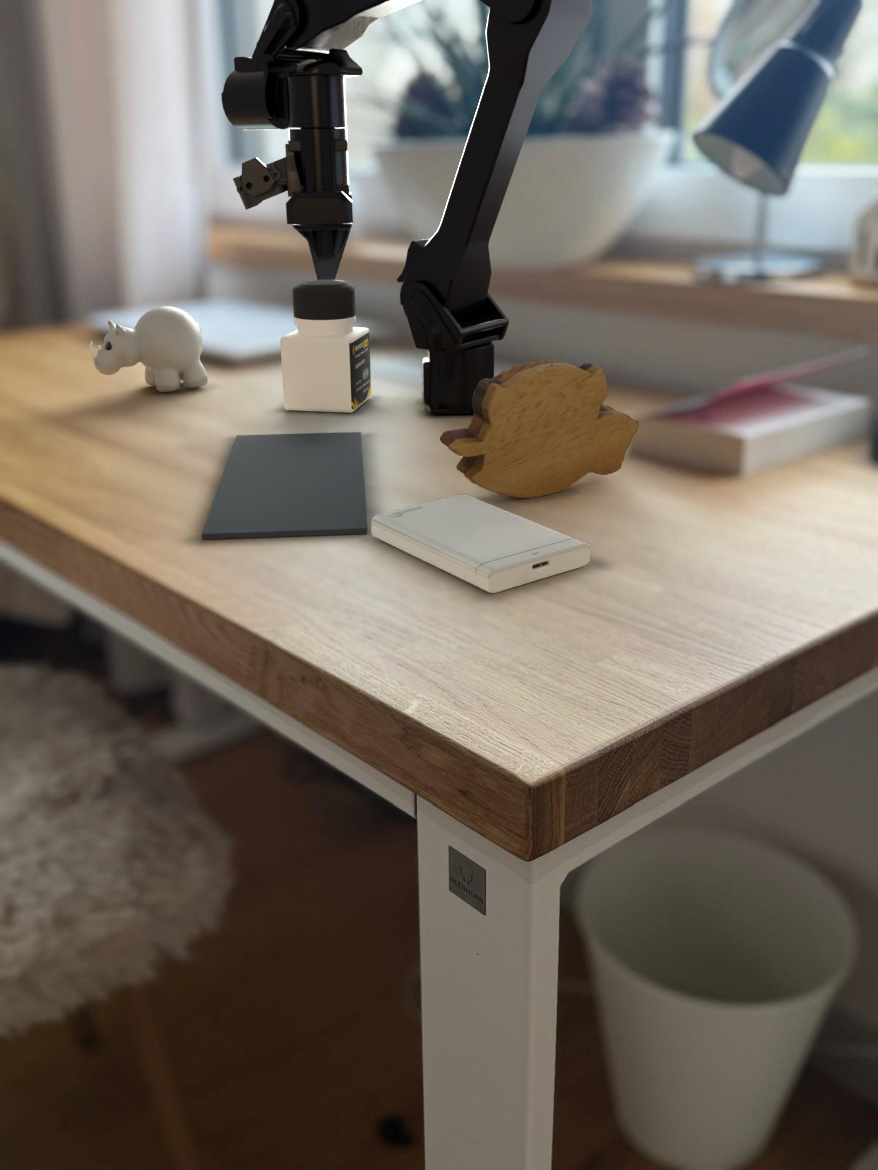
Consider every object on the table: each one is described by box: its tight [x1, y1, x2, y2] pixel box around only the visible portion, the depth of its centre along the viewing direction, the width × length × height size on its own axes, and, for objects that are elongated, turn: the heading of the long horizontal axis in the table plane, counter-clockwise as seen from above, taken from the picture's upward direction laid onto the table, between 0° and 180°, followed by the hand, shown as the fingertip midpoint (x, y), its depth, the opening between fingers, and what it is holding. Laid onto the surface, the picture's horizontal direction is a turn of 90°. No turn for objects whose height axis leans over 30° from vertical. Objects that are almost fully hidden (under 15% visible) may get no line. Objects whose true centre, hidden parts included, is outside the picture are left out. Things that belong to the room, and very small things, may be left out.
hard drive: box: [370, 493, 591, 594], centre depth 69 cm, size 2×8×12 cm
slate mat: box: [201, 431, 368, 540], centre depth 84 cm, size 11×26×1 cm, turn 5°
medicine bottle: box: [279, 279, 372, 414], centre depth 106 cm, size 7×7×12 cm
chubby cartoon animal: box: [88, 305, 208, 393], centre depth 114 cm, size 7×12×8 cm, turn 121°
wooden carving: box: [439, 358, 640, 499], centre depth 79 cm, size 16×5×10 cm, turn 123°
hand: (325, 292), depth 112 cm, fingers closed
